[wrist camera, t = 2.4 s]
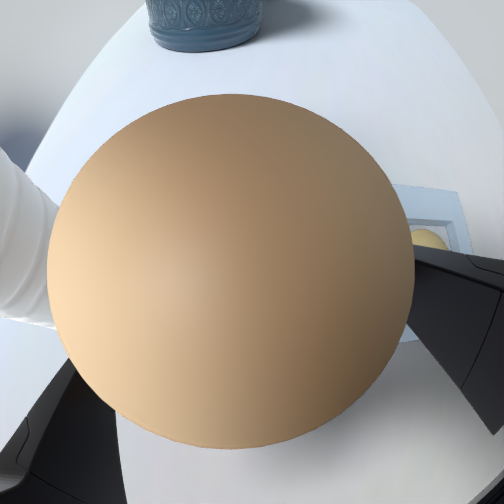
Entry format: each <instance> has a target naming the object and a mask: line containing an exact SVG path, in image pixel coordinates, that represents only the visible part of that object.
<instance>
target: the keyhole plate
mask: <svg viewBox="0 0 504 504" xmlns="http://www.w3.org/2000/svg"><path fill="white" fill-rule="evenodd" d="M392 186H393V188H394V190H395V191H396V193H397V195H398V198H399V200H400V202H401V205H402V207H403V209H404V212H405V215H406V218H407V221H408V224H415V225H435V226H446V228H447V232H448V236H449V241H450V246H451V250H452V251H453V252H459V253H464V254H470V255H473V252H472V247H471V243H470V238H469V234H468V230H467V226H466V222H465V218H464V214H463V211H462V207H461V204H460V201H459V197H458V194H457V192H454V191H446V190H439V189H431V188H423V187H415V186H406V185H396V184H392ZM411 237H412V243H413V244H414V245H420V246H426V247H432V248H437V249H443V250H448V248H447V246H446V244H445V243H444V242H443V240H442V239H441V238H440V237H439V236H438V235H436V234H435V233H433V232H431V231H429V230H425V229H419V230H415V231H413V232H411ZM448 251H449V250H448ZM414 340H420V339H419V338H418V337H417V336H416V335H415V333H414V332H413V331H412V330H411V329H410V327H409V326H408V325H407V324H406V326H405V329H404V332H403V334H402V336H401V338H400V341H399V343H402V342H408V341H414Z"/></svg>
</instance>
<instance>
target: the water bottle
mask: <svg viewBox="0 0 504 504" xmlns="http://www.w3.org/2000/svg"><path fill="white" fill-rule="evenodd" d="M59 208H60V207H59V206H57V205H56V204H55V203H54V202H52V200H51V199H50V198H49V197H48V196H47V195H46V194H45V193H44V192H43V191H42V190H41V189H40V188H38V187H37V186H36V185H34V183H33V182H32V181H31V179H30V178H29V177H28V176H27V175H26V174H25V173H24V172H23V171H22V170H21V169H20V168H19V167H18V166H17V165H15V164H14V163H13V162H11V160H10V159H9V157H8V156H7V154H6V153H5V152H4V151H3V149H1V147H0V317H1V318H8V319H12V320H15V321H18V322H22V323H30V324H33V325H36V326H41V327H48V328H52V329H56V326H55V323H54V320H53V316H52V313H51V308H50V302H49V296H48V289H47V258H48V249H49V242H50V238H51V233H52V229H53V225H54V222H55V219H56V216H57V213H58V211H59ZM56 330H57V329H56Z"/></svg>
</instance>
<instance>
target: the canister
mask: <svg viewBox="0 0 504 504" xmlns="http://www.w3.org/2000/svg"><path fill="white" fill-rule="evenodd" d="M146 4H147V9H148V14H149V27H150V32H151V34H152V35H153V36H154V39H155V41H156V43H157V44H159V45H160V46H162V47H164V48H167V49H170V50H175V51H183V52H202V51H212V50H219V49H224V48H228V47H232V46H235V45H238V44H241V43H243V42H245V41H247V40H249V39H251V38H252V37H254V36H255V35H256V34H257V32H258V31H259V27H260V24H261V22H262V15H263V10H262V0H146Z"/></svg>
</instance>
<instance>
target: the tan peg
mask: <svg viewBox="0 0 504 504" xmlns="http://www.w3.org/2000/svg"><path fill="white" fill-rule="evenodd" d="M414 282H415V262H414V251H413V243H412V237H411V232H410V229H409V225H408V221H407V218H406V215H405V212H404V209H403V207H402V205H401V202H400V200H399V198H398V195H397V193H396V191H395V190H394V188H393V186H392V184H391V183H390V181H389V179H388V178H387V176H386V174H385V173H384V172H383V170H382V169H381V168H380V166H379V165H378V164H377V162H376V161H375V160H374V159H373V157H372V156H371V155H370V154H369V153H368V152H367V151H366V150H365V149H364V148H363V147H362V146H361V145H360V144H359V143H358V142H357V141H356V140H355V139H353V138H352V137H351V136H350V135H348V134H347V133H346V132H345V131H343V130H342V129H341V128H339V127H338V126H336V125H335V124H333V123H331V122H330V121H328V120H327V119H325V118H323V117H321V116H319V115H317V114H315V113H313V112H311V111H309V110H307V109H305V108H302V107H299V106H296V105H294V104H291V103H288V102H285V101H281V100H276V99H272V98H268V97H262V96H254V95H244V94H221V95H208V96H202V97H197V98H191V99H186V100H183V101H180V102H176V103H173V104H170V105H167V106H164V107H162V108H159V109H157V110H155V111H152V112H150V113H148V114H146V115H144V116H142V117H141V118H139V119H137V120H135V121H133V122H132V123H130V124H129V125H127V126H126V127H124V128H123V129H122V130H120V131H119V132H117V133H116V134H115V135H113V136H112V137H111V138H110V139H109V140H108V141H107V142H105V143H104V144H103V145H102V146H101V147H100V148H99V149H98V150H97V151H96V152H95V153H94V154H93V155H92V157H91V158H90V159H89V160H88V161H87V162H86V163H85V165H84V166H83V167H82V169H81V170H80V172H79V173H78V174H77V176H76V177H75V179H74V180H73V182H72V184H71V185H70V187H69V189H68V191H67V193H66V195H65V197H64V199H63V201H62V203H61V206H60V208H59V211H58V213H57V216H56V219H55V222H54V225H53V229H52V233H51V238H50V242H49V249H48V258H47V289H48V296H49V302H50V308H51V313H52V316H53V320H54V323H55V326H56V329H57V332H58V335H59V337H60V340H61V342H62V344H63V346H64V348H65V350H66V352H67V354H68V356H69V358H70V360H71V361H72V363H73V364H74V366H75V367H76V369H77V370H78V372H79V373H80V375H81V376H82V378H83V379H84V380H85V382H86V383H87V384H88V385H89V386H90V387H91V388H92V389H93V390H94V392H95V393H96V394H97V395H98V396H99V397H100V398H101V399H102V400H103V401H104V402H106V403H107V404H108V405H109V406H110V407H112V408H113V409H114V410H115V411H117V412H118V413H119V414H120V415H122V416H123V417H125V418H126V419H128V420H130V421H131V422H133V423H135V424H136V425H138V426H140V427H142V428H143V429H145V430H147V431H149V432H152V433H154V434H157V435H159V436H162V437H164V438H167V439H169V440H172V441H175V442H180V443H184V444H188V445H193V446H197V447H202V448H215V449H244V448H255V447H262V446H267V445H271V444H275V443H279V442H283V441H287V440H290V439H292V438H295V437H297V436H300V435H302V434H305V433H307V432H309V431H312V430H314V429H316V428H318V427H320V426H321V425H323V424H325V423H326V422H328V421H329V420H331V419H333V418H334V417H336V416H337V415H339V414H341V413H342V412H343V411H344V410H345V409H347V408H348V407H349V406H350V405H351V404H353V403H354V402H355V401H356V400H357V399H358V398H360V397H361V396H362V395H363V394H364V393H365V391H366V390H367V389H368V388H369V387H370V386H371V385H372V383H373V382H374V381H375V380H376V379H377V378H378V376H379V375H380V374H381V372H382V371H383V369H384V368H385V366H386V365H387V363H388V361H389V360H390V358H391V357H392V355H393V353H394V352H395V349H396V347H397V345H398V343H399V341H400V338H401V336H402V334H403V332H404V329H405V326H406V322H407V319H408V315H409V312H410V308H411V304H412V297H413V290H414Z"/></svg>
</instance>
